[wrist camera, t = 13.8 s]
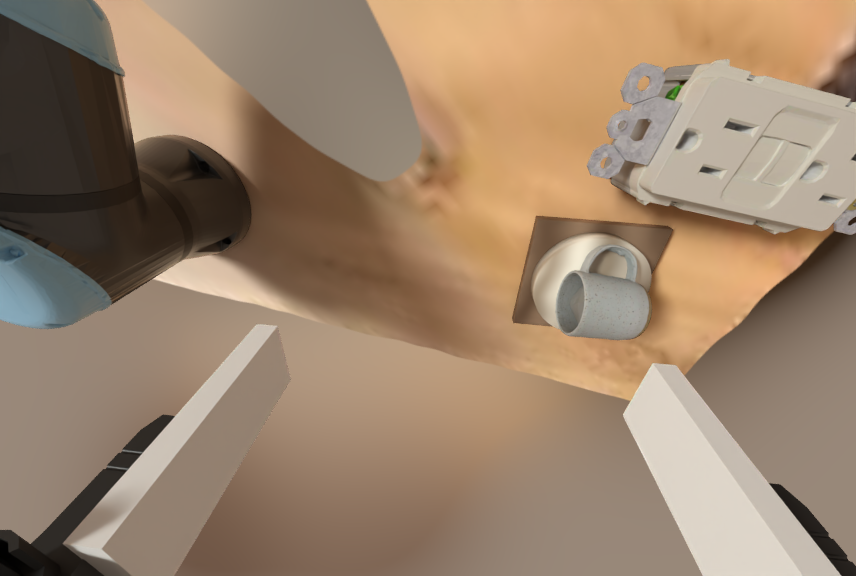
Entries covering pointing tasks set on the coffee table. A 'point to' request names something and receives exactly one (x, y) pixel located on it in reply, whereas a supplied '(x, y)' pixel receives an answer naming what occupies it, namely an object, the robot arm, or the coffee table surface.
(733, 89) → the electrical outlet
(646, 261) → the pedestal
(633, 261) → the ceramic mug
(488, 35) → the coffee table surface
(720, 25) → the coffee table surface
